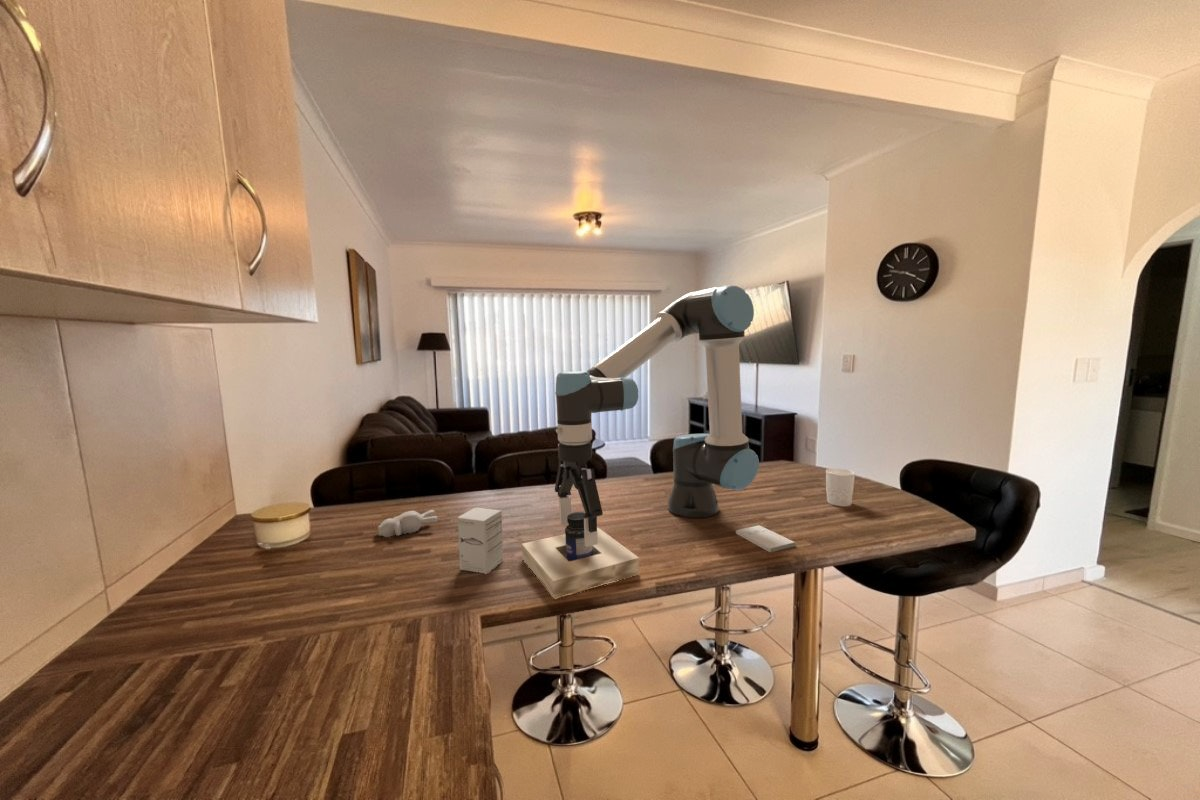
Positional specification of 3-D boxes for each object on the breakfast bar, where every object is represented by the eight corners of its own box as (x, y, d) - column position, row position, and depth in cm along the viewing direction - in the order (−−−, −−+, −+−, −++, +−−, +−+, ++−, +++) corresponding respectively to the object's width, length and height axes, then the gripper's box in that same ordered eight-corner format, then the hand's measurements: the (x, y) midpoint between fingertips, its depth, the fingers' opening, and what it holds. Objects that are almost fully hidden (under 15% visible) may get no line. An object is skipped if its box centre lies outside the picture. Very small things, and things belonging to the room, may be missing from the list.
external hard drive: (770, 554, 109) (735, 535, 120) (795, 548, 112) (760, 530, 123) (770, 548, 108) (735, 529, 120) (795, 541, 111) (760, 524, 123)
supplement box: (459, 570, 103) (455, 517, 101) (478, 556, 110) (475, 506, 108) (486, 575, 100) (483, 520, 99) (504, 560, 107) (502, 509, 106)
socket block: (597, 541, 117) (596, 526, 116) (639, 575, 99) (638, 557, 99) (522, 559, 107) (521, 543, 107) (553, 600, 90) (553, 581, 89)
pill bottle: (564, 559, 105) (560, 513, 104) (589, 553, 107) (586, 508, 106) (571, 571, 99) (568, 522, 98) (597, 565, 101) (594, 517, 100)
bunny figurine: (376, 517, 127) (432, 501, 133) (380, 534, 128) (435, 518, 134) (376, 528, 118) (436, 511, 125) (381, 546, 119) (439, 529, 126)
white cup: (829, 506, 138) (830, 474, 137) (821, 498, 145) (822, 468, 144) (857, 507, 136) (859, 475, 135) (847, 499, 144) (849, 468, 143)
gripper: (539, 434, 109) (542, 519, 112) (583, 455, 87) (587, 559, 90) (567, 431, 113) (570, 513, 115) (617, 450, 91) (619, 551, 93)
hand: (577, 533), depth 102 cm, fingers open, 13 cm apart
